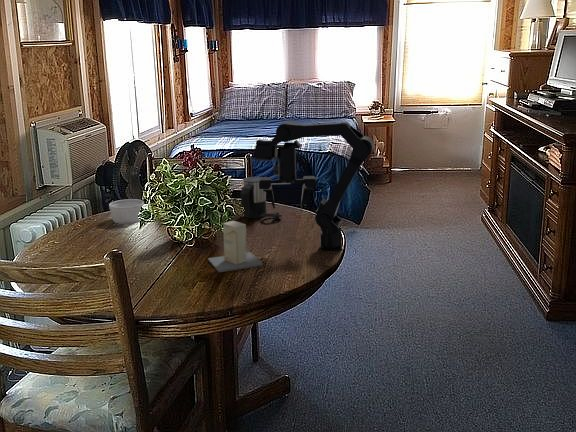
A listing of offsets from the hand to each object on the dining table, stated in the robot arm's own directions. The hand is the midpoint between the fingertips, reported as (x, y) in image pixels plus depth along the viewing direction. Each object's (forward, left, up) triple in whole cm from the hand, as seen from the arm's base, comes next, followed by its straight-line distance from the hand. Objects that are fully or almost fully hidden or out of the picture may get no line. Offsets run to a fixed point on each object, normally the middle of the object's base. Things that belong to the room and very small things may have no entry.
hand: (287, 207), depth 207 cm
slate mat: (+17, +16, -13) cm, 27 cm away
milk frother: (+8, -35, -13) cm, 38 cm away
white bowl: (+61, -37, -13) cm, 73 cm away
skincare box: (+17, +16, -13) cm, 26 cm away
